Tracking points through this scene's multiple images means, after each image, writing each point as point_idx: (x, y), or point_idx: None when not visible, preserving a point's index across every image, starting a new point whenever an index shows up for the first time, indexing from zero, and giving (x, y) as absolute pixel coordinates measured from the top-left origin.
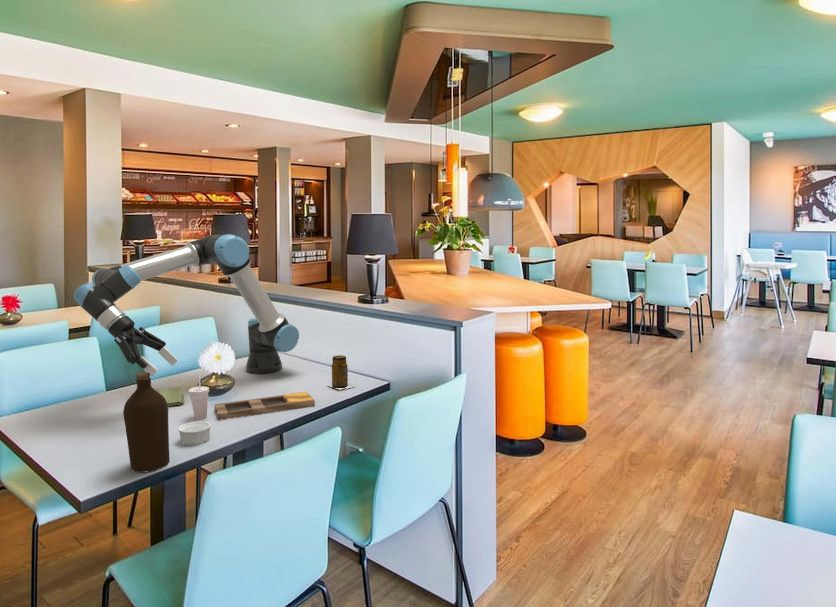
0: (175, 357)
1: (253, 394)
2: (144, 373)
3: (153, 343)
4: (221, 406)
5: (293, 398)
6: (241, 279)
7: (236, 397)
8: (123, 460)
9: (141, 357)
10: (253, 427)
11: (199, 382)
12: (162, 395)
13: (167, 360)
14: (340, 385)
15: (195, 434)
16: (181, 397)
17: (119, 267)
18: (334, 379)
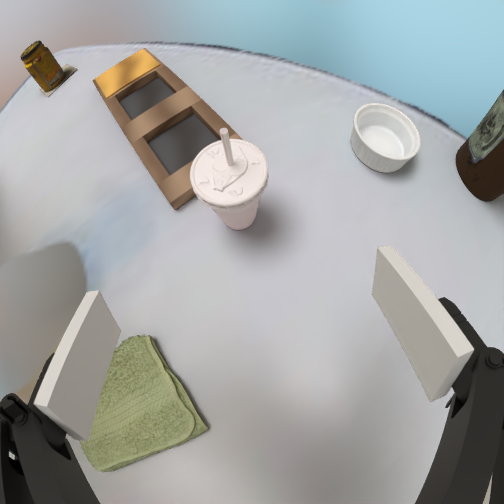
0: (80, 307)
1: (63, 188)
2: None
3: (69, 495)
4: (186, 174)
5: (134, 71)
6: None
7: (78, 215)
8: (487, 230)
9: (469, 351)
10: (278, 80)
11: (230, 144)
12: (123, 415)
13: (106, 362)
14: (63, 71)
15: (404, 121)
16: (122, 347)
17: None
18: (54, 72)
